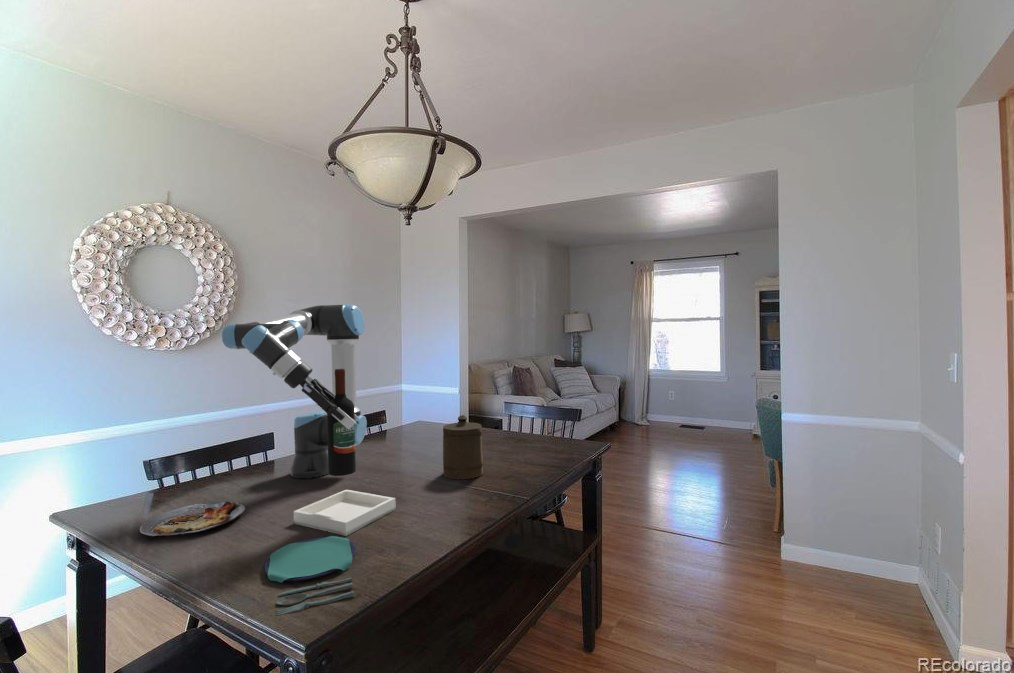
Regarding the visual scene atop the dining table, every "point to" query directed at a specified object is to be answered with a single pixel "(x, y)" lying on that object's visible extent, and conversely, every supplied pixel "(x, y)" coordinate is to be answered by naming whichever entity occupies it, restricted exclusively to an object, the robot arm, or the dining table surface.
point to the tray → (344, 512)
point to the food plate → (193, 518)
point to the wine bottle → (341, 433)
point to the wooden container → (462, 449)
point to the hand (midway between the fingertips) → (353, 423)
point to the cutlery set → (310, 568)
